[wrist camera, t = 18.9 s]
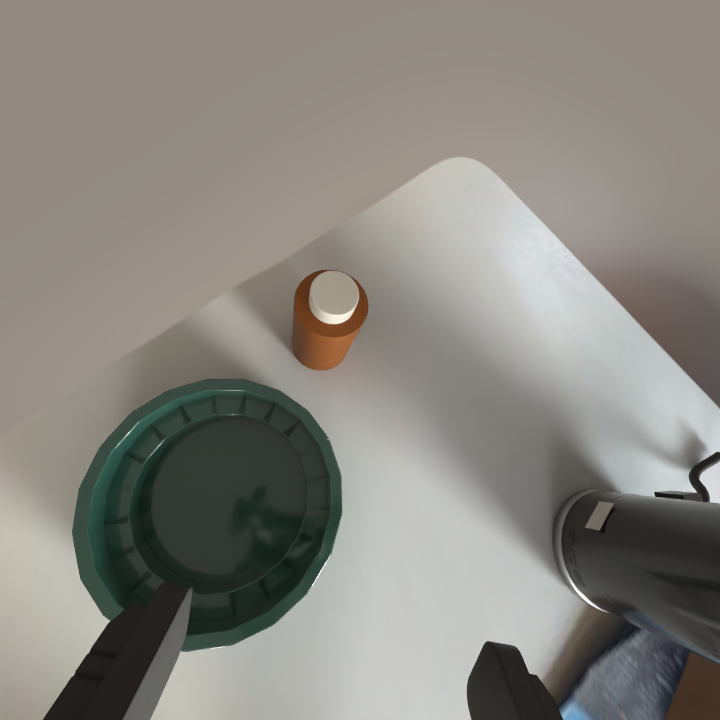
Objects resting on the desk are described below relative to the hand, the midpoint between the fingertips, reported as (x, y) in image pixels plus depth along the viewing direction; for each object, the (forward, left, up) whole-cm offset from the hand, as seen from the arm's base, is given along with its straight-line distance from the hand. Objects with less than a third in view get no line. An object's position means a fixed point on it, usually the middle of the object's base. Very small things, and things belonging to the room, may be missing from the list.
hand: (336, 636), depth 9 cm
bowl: (+6, -2, -18) cm, 19 cm away
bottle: (-1, -14, -18) cm, 23 cm away
